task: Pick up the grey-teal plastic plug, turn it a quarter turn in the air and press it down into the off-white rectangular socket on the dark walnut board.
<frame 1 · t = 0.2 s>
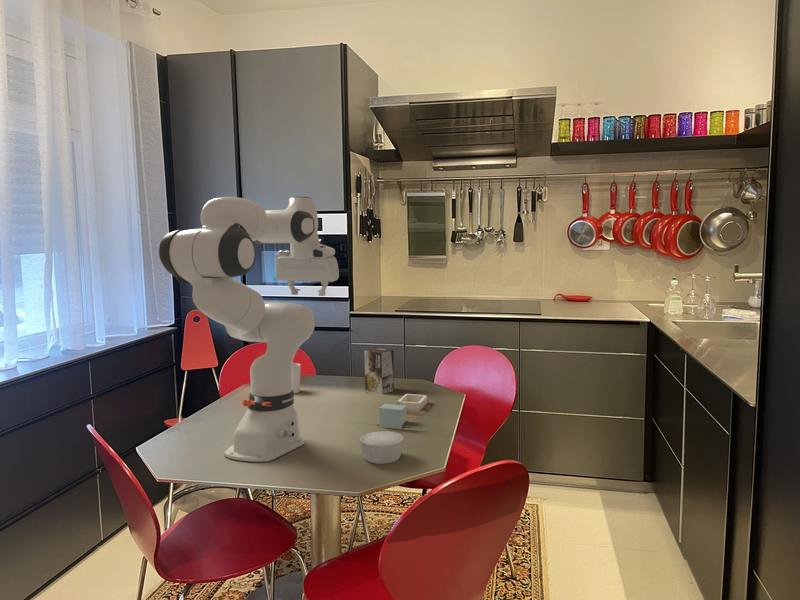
hand: (308, 295, 183), 39 cm above the table, tool pointing down, fingers open, 8 cm apart
walnut board: (410, 411, 193), on the table
ramekin: (381, 458, 153), on the table
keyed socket: (412, 405, 195), resting on walnut board
keyed plug: (393, 426, 178), on the table
drinking glass: (292, 392, 219), on the table
coffee box: (379, 394, 215), on the table
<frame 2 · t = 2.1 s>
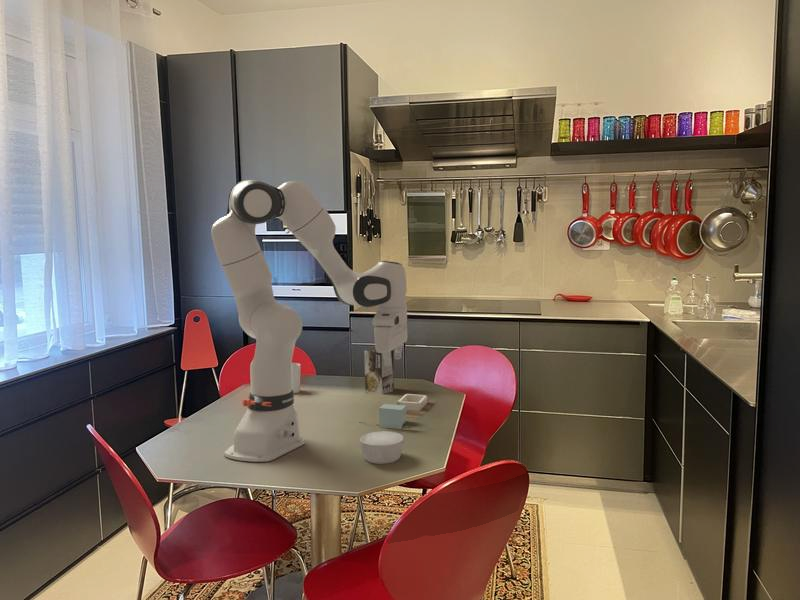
hand: (392, 362, 176), 19 cm above the table, tool pointing down, fingers open, 8 cm apart
nothing on the table moved.
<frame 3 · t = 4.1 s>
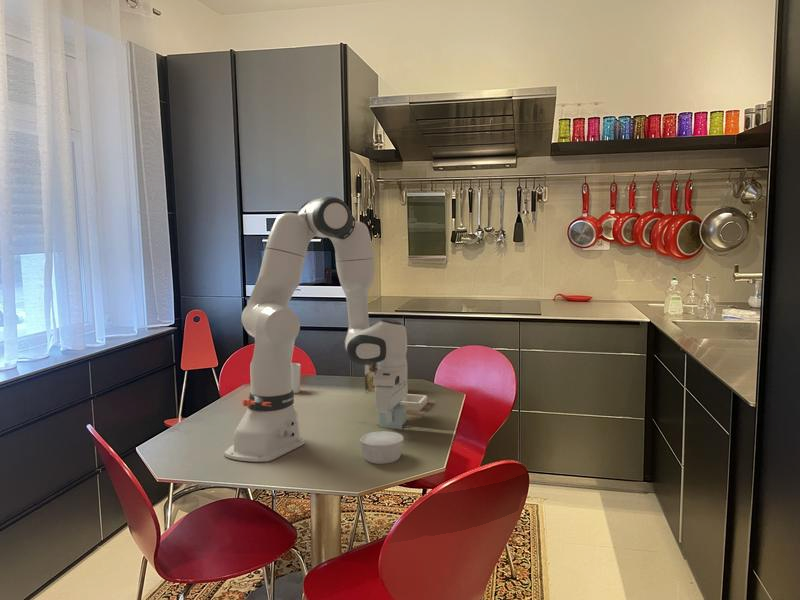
hand: (392, 419, 178), 2 cm above the table, tool pointing down, fingers closed on keyed plug, 4 cm apart
keyed plug: (393, 426, 178), on the table, touching gripper
everything else where it was.
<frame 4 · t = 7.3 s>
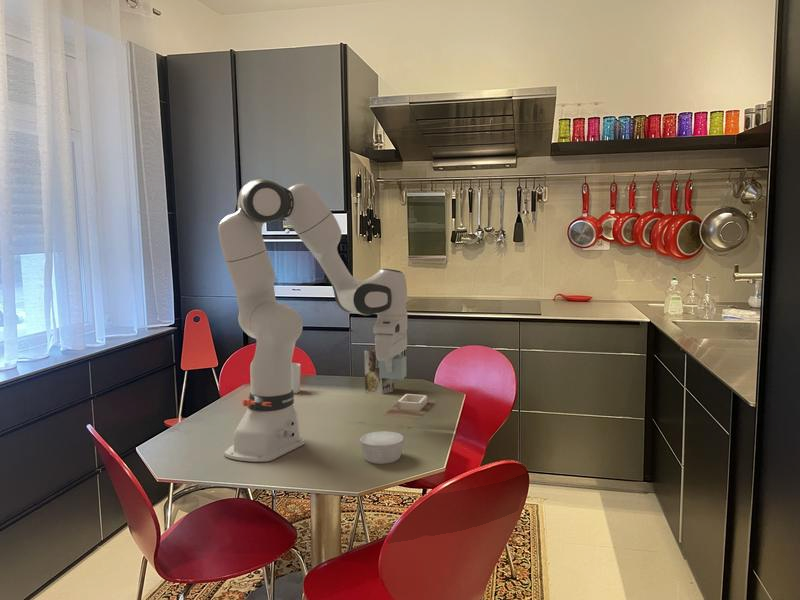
hand: (392, 369, 176), 17 cm above the table, tool pointing down, fingers closed on keyed plug, 4 cm apart
keyed plug: (392, 376, 177), point 15 cm above the table, touching gripper
everything else where it was.
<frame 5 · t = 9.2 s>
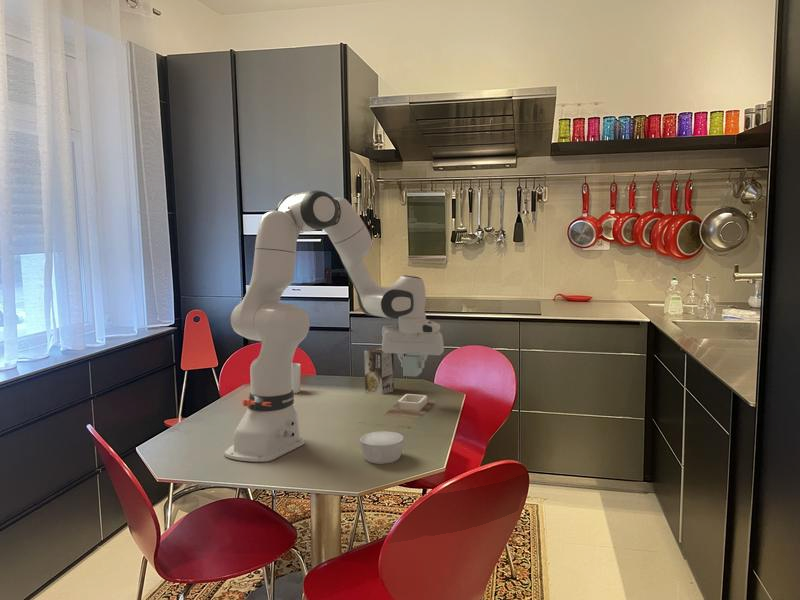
hand: (412, 367, 194), 14 cm above the table, tool pointing down, fingers closed on keyed plug, 4 cm apart
keyed plug: (412, 373, 194), point 12 cm above the table, touching gripper
everything else where it was.
when the fingers open (5 cm above the table, at t = 10.9 s): keyed plug drops 1 cm, resting on walnut board.
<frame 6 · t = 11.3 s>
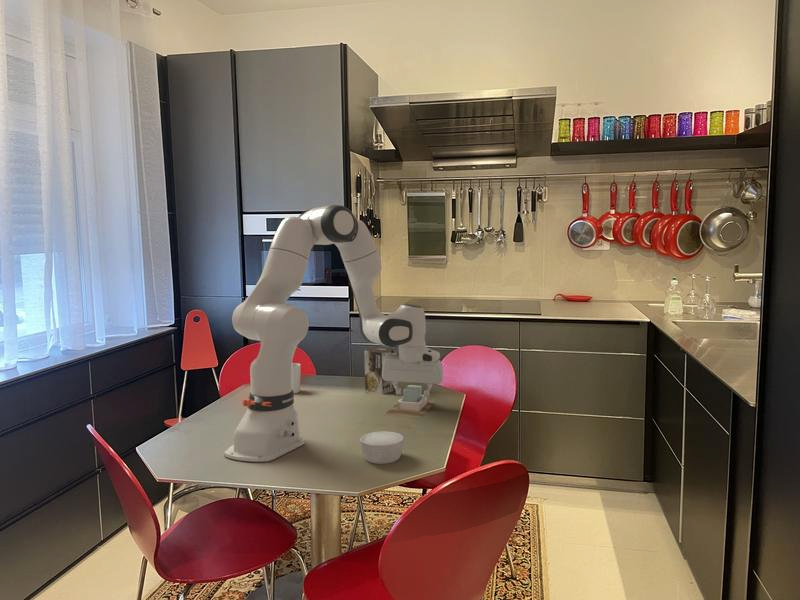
hand: (412, 395, 194), 5 cm above the table, tool pointing down, fingers open, 8 cm apart
keyed plug: (412, 405, 195), point 1 cm above the table, touching walnut board
everything else where it was.
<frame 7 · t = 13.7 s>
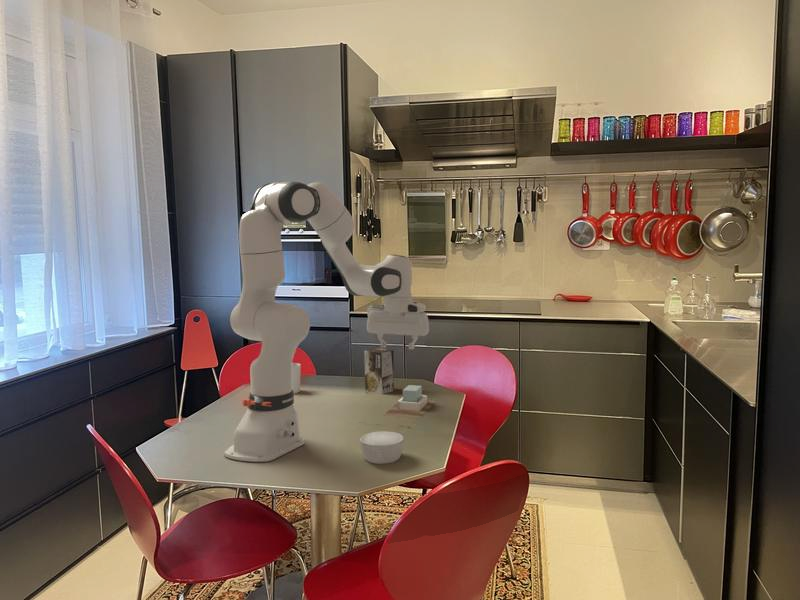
hand: (397, 348, 192), 21 cm above the table, tool pointing down, fingers open, 8 cm apart
nothing on the table moved.
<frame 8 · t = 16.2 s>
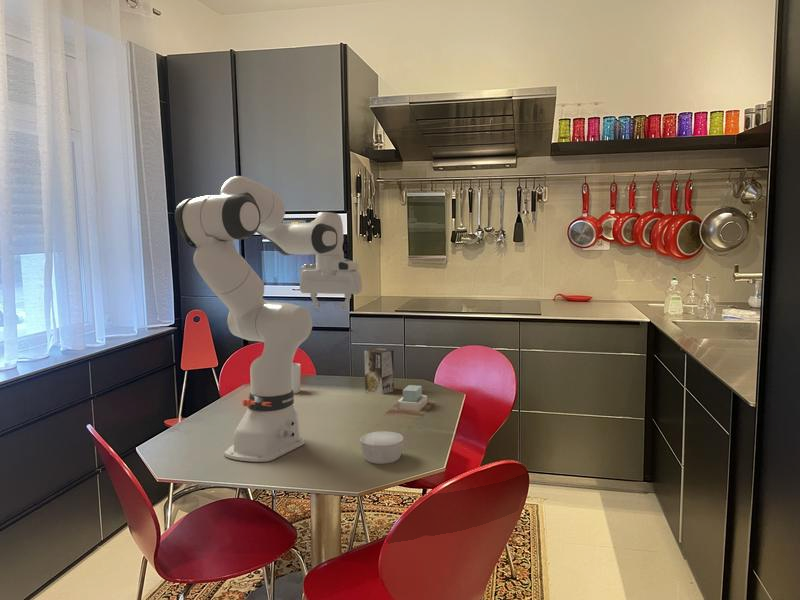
hand: (330, 307, 189), 34 cm above the table, tool pointing down, fingers open, 8 cm apart
nothing on the table moved.
at the end: keyed plug 0.0 cm off-centre on the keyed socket, point 0.0 cm above the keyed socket's base; keyed plug tilted 0°; the gripper is holding nothing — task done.
